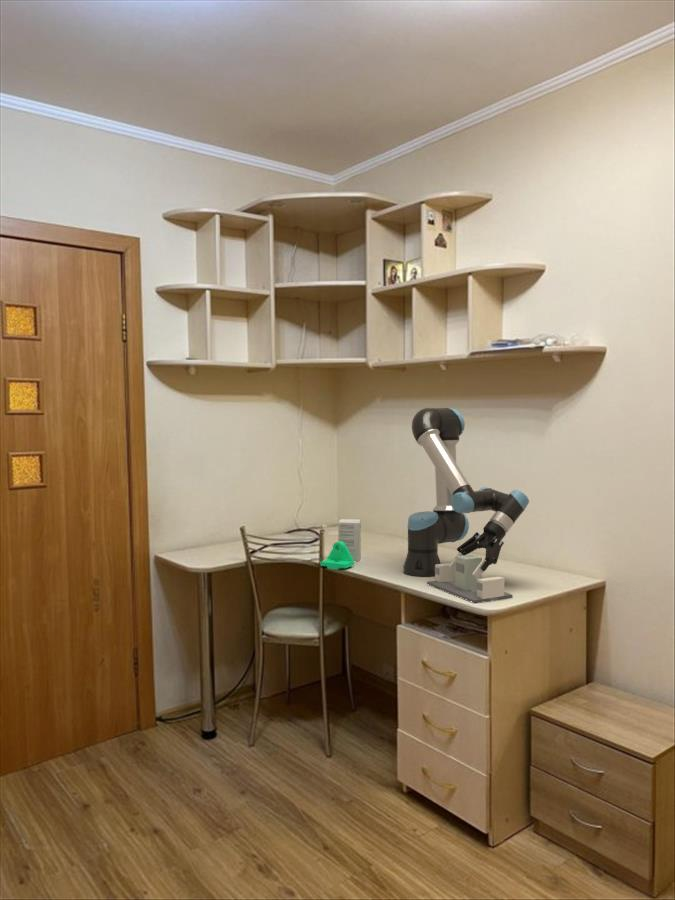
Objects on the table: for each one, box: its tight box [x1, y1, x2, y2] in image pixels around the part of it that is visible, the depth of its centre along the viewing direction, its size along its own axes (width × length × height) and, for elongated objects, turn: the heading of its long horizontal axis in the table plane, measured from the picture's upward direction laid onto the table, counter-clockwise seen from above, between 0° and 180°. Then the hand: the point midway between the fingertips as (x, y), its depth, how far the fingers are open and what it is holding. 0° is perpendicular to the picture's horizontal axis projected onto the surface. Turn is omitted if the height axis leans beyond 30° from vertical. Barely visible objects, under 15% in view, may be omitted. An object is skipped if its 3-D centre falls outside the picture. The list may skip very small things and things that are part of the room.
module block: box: [454, 554, 483, 591], centre depth 241 cm, size 6×7×11 cm
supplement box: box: [337, 518, 362, 562], centre depth 293 cm, size 10×9×17 cm
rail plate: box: [426, 562, 514, 604], centre depth 241 cm, size 28×16×7 cm, turn 26°
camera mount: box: [319, 541, 355, 571], centre depth 279 cm, size 12×8×10 cm, turn 62°
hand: (462, 572), depth 240 cm, fingers open, 13 cm apart
